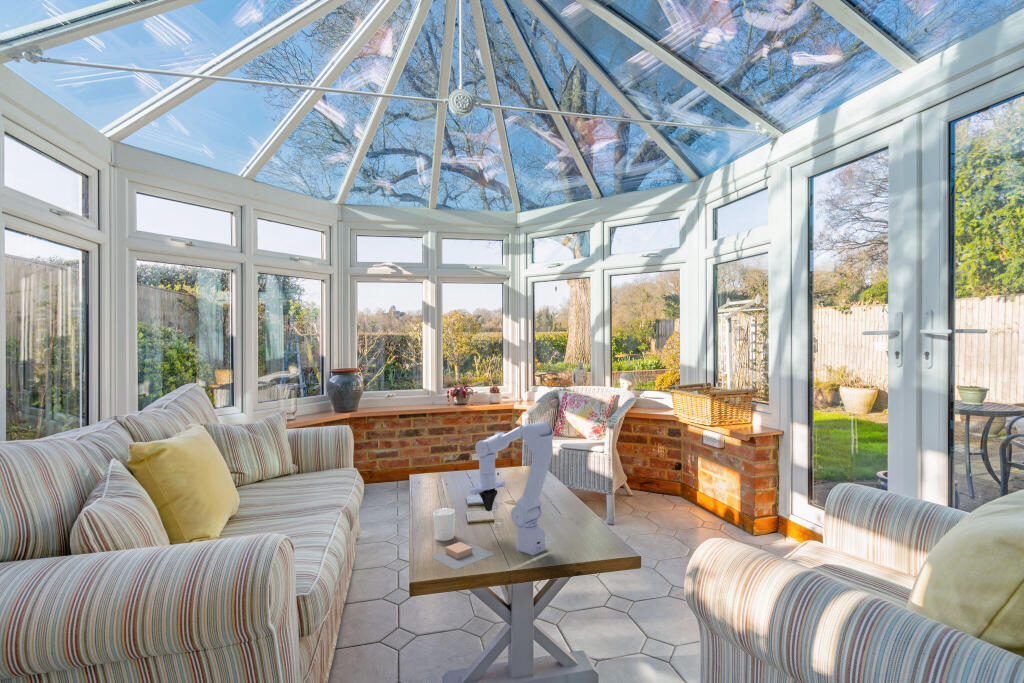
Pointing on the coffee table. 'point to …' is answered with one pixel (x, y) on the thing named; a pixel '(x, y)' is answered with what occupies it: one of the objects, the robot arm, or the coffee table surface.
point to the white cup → (444, 523)
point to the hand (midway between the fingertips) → (488, 510)
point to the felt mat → (458, 563)
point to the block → (458, 550)
